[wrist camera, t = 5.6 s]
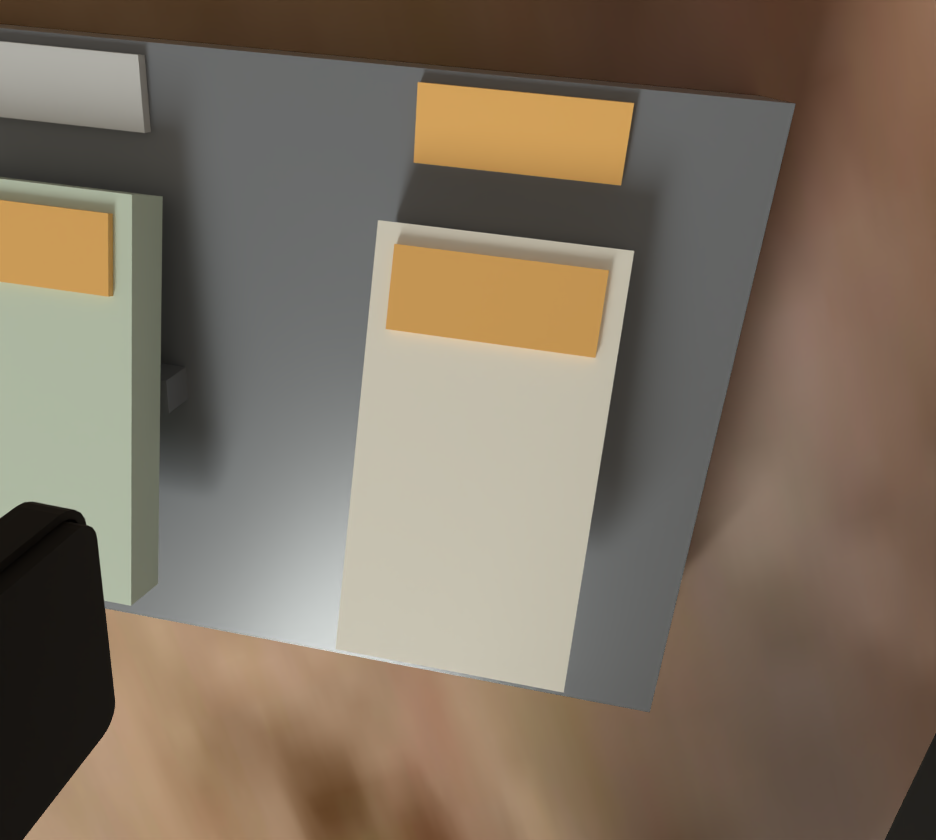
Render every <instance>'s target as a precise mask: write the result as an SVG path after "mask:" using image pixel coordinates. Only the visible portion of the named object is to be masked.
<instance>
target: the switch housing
mask: <svg viewBox="0 0 936 840" xmlns="http://www.w3.org/2000/svg"><path fill="white" fill-rule="evenodd" d="M794 108H795V103H790V102H786V101H781V100H777V99H772V98H768V97H763V96H757V95H746V94H736V93H725V92H715V91H704V90H693V89H683V88H672V87H662V86H651V85H641V84H630V83H619V82H609V81H598V80H588V79H577V78H567V77H556V76H545V75H535V74H524V73H514V72H503V71H492V70H482V69H471V68H461V67H450V66H440V65H429V64H418V63H408V62H397V61H387V60H376V59H366V58H355V57H344V56H334V55H323V54H313V53H302V52H291V51H281V50H270V49H260V48H249V47H239V46H228V45H217V44H207V43H196V42H186V41H175V40H165V39H154V38H143V37H133V36H122V35H112V34H101V33H90V32H80V31H69V30H59V29H48V28H38V27H27V26H16V25H6V24H0V177H5V178H14V179H22V180H30V181H39V182H47V183H55V184H63V185H72V186H80V187H88V188H97V189H105V190H113V191H121V192H130V193H138V194H146V195H155V196H163V205H162V289H161V373H160V457H159V541H158V584H157V585H156V586H155V587H153V588H152V589H151V590H150V591H148V592H147V593H146V594H145V595H144V596H142V597H141V598H140V599H139V600H138V601H136V602H135V603H134V604H133V605H131V606H129V605H124V604H119V603H114V602H108V601H104V604H105V608H106V609H112V610H117V611H122V612H127V613H132V614H138V615H143V616H148V617H153V618H159V619H164V620H169V621H174V622H180V623H185V624H190V625H195V626H201V627H206V628H211V629H216V630H221V631H227V632H232V633H237V634H242V635H248V636H253V637H258V638H263V639H269V640H274V641H279V642H284V643H290V644H295V645H300V646H305V647H310V648H316V649H321V650H326V651H331V652H337V653H342V654H347V655H352V656H358V657H363V658H368V659H373V660H379V661H384V662H389V663H394V664H399V665H405V666H410V667H415V668H420V669H426V670H431V671H436V672H441V673H447V674H452V675H457V676H462V677H468V678H473V679H478V680H483V681H488V682H494V683H499V684H504V685H509V686H515V687H520V688H525V689H530V690H536V691H541V692H546V693H551V694H556V695H562V696H567V697H572V698H577V699H583V700H588V701H593V702H598V703H604V704H609V705H614V706H619V707H625V708H630V709H635V710H640V711H645V712H650V709H651V705H652V701H653V696H654V692H655V688H656V684H657V680H658V676H659V671H660V667H661V663H662V659H663V655H664V650H665V646H666V642H667V638H668V634H669V630H670V625H671V621H672V617H673V613H674V609H675V605H676V600H677V596H678V592H679V588H680V584H681V580H682V575H683V571H684V567H685V563H686V559H687V555H688V550H689V546H690V542H691V538H692V534H693V529H694V525H695V521H696V517H697V513H698V509H699V504H700V500H701V496H702V492H703V488H704V484H705V479H706V475H707V471H708V467H709V463H710V459H711V454H712V450H713V446H714V442H715V438H716V434H717V429H718V425H719V421H720V417H721V413H722V408H723V404H724V400H725V396H726V392H727V388H728V383H729V379H730V375H731V371H732V367H733V363H734V358H735V354H736V350H737V346H738V342H739V338H740V333H741V329H742V325H743V321H744V317H745V312H746V308H747V304H748V300H749V296H750V292H751V287H752V283H753V279H754V275H755V271H756V267H757V262H758V258H759V254H760V250H761V246H762V242H763V237H764V233H765V229H766V225H767V221H768V217H769V212H770V208H771V204H772V200H773V196H774V191H775V187H776V183H777V179H778V175H779V171H780V166H781V162H782V158H783V154H784V150H785V146H786V141H787V137H788V133H789V129H790V125H791V121H792V116H793V112H794ZM378 220H381V221H390V222H398V223H406V224H415V225H423V226H431V227H440V228H448V229H456V230H465V231H473V232H481V233H489V234H498V235H506V236H514V237H523V238H531V239H539V240H548V241H556V242H564V243H573V244H581V245H589V246H598V247H606V248H614V249H622V250H631V251H634V256H633V262H632V269H631V275H630V281H629V287H628V294H627V300H626V306H625V312H624V319H623V325H622V331H621V337H620V344H619V350H618V356H617V362H616V369H615V375H614V381H613V387H612V394H611V400H610V406H609V412H608V419H607V425H606V431H605V437H604V444H603V450H602V456H601V462H600V469H599V475H598V481H597V487H596V494H595V500H594V506H593V512H592V519H591V525H590V531H589V537H588V544H587V550H586V556H585V562H584V569H583V575H582V581H581V587H580V594H579V600H578V606H577V612H576V619H575V625H574V631H573V637H572V644H571V650H570V656H569V662H568V669H567V675H566V681H565V687H564V693H563V692H557V691H552V690H547V689H542V688H536V687H531V686H526V685H521V684H515V683H510V682H505V681H500V680H494V679H489V678H484V677H479V676H473V675H468V674H463V673H458V672H452V671H447V670H442V669H437V668H431V667H426V666H421V665H416V664H410V663H405V662H400V661H395V660H389V659H384V658H379V657H374V656H368V655H363V654H358V653H353V652H348V651H342V650H337V649H336V639H337V629H338V619H339V609H340V599H341V588H342V578H343V568H344V558H345V548H346V538H347V528H348V518H349V508H350V498H351V488H352V477H353V467H354V457H355V447H356V437H357V427H358V417H359V407H360V397H361V387H362V376H363V366H364V356H365V346H366V336H367V326H368V316H369V306H370V296H371V286H372V275H373V265H374V255H375V245H376V235H377V225H378Z"/></svg>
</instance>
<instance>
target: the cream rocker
mask: <svg viewBox="0 0 936 840" xmlns="http://www.w3.org/2000/svg"><path fill="white" fill-rule="evenodd" d="M633 256H634V251H631V250H622V249H614V248H606V247H598V246H589V245H581V244H573V243H564V242H556V241H548V240H539V239H531V238H523V237H514V236H506V235H498V234H489V233H481V232H473V231H465V230H456V229H448V228H440V227H431V226H423V225H415V224H406V223H398V222H390V221H381V220H378V225H377V235H376V245H375V255H374V265H373V275H372V286H371V296H370V306H369V316H368V326H367V336H366V346H365V356H364V366H363V376H362V387H361V397H360V407H359V417H358V427H357V437H356V447H355V457H354V467H353V477H352V488H351V498H350V508H349V518H348V528H347V538H346V548H345V558H344V568H343V578H342V588H341V599H340V609H339V619H338V629H337V639H336V649H337V650H342V651H348V652H353V653H358V654H363V655H368V656H374V657H379V658H384V659H389V660H395V661H400V662H405V663H410V664H416V665H421V666H426V667H431V668H437V669H442V670H447V671H452V672H458V673H463V674H468V675H473V676H479V677H484V678H489V679H494V680H500V681H505V682H510V683H515V684H521V685H526V686H531V687H536V688H542V689H547V690H552V691H557V692H563V693H564V687H565V681H566V675H567V669H568V662H569V656H570V650H571V644H572V637H573V631H574V625H575V619H576V612H577V606H578V600H579V594H580V587H581V581H582V575H583V569H584V562H585V556H586V550H587V544H588V537H589V531H590V525H591V519H592V512H593V506H594V500H595V494H596V487H597V481H598V475H599V469H600V462H601V456H602V450H603V444H604V437H605V431H606V425H607V419H608V412H609V406H610V400H611V394H612V387H613V381H614V375H615V369H616V362H617V356H618V350H619V344H620V337H621V331H622V325H623V319H624V312H625V306H626V300H627V294H628V287H629V281H630V275H631V269H632V262H633Z"/></svg>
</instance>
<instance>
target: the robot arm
mask: <svg viewBox="0 0 936 840" xmlns="http://www.w3.org/2000/svg"><path fill="white" fill-rule="evenodd" d="M114 709H115V696H114V687H113V677H112V668H111V659H110V650H109V641H108V632H107V623H106V613H105V604H104V595H103V586H102V577H101V568H100V558H99V549H98V540H97V535H96V532H95V530H94V529H93V527H90V526H88V525H86V521H85V518H84V517H83V515H82V514H81V513H80V512H78V511H76V510H73V509H68V508H63V507H58V506H53V505H48V504H43V503H38V502H24V503H22V504H20V505H18V506H16V507H15V508H13V509H12V510H11V511H9V512H8V513H6V514H5V515H4V516H2V517H1V518H0V840H23V839H24V837H25V836H26V835H27V834H28V832H29V831H30V830H31V828H32V827H33V826H34V825H35V823H36V822H37V821H38V819H39V818H40V817H41V816H42V814H43V813H44V812H45V810H46V809H47V808H48V806H49V805H50V804H51V803H52V801H53V800H54V799H55V797H56V796H57V795H58V794H59V792H60V791H61V790H62V788H63V787H64V786H65V785H66V783H67V782H68V781H69V779H70V778H71V777H72V776H73V774H74V773H75V772H76V770H77V769H78V768H79V766H80V765H81V764H82V763H83V761H84V760H85V759H86V757H87V756H88V755H89V754H90V752H91V751H92V750H93V748H94V747H95V746H96V745H97V743H98V742H99V741H100V739H101V738H102V737H103V735H104V734H105V732H106V731H107V729H108V727H109V725H110V723H111V720H112V717H113V714H114ZM885 840H936V734H935V736H934V738H933V740H932V742H931V744H930V747H929V749H928V751H927V753H926V755H925V757H924V759H923V761H922V763H921V765H920V767H919V770H918V772H917V774H916V776H915V778H914V780H913V782H912V784H911V786H910V788H909V790H908V792H907V795H906V797H905V799H904V801H903V803H902V805H901V807H900V809H899V811H898V813H897V815H896V817H895V820H894V822H893V824H892V826H891V828H890V830H889V832H888V834H887V836H886V838H885Z"/></svg>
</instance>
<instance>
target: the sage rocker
mask: <svg viewBox="0 0 936 840" xmlns="http://www.w3.org/2000/svg"><path fill="white" fill-rule="evenodd" d="M162 205H163V196H155V195H146V194H138V193H130V192H121V191H113V190H105V189H97V188H88V187H80V186H72V185H63V184H55V183H47V182H39V181H30V180H22V179H14V178H5V177H0V518H1V517H2V516H4V515H5V514H6V513H8V512H9V511H11V510H12V509H13V508H15V507H16V506H18V505H20V504H22V503H24V502H38V503H43V504H48V505H53V506H58V507H63V508H68V509H73V510H76V511H78V512H80V513H81V514H82V515H83V517H84V518H85V521H86V525H88V526H90V527H93V529H94V530H95V532H96V535H97V540H98V549H99V558H100V568H101V577H102V586H103V595H104V601H108V602H114V603H119V604H124V605H129V606H131V605H133V604H134V603H135V602H136V601H138V600H139V599H140V598H141V597H142V596H144V595H145V594H146V593H147V592H148V591H150V590H151V589H152V588H153V587H155V586H156V585H157V584H158V541H159V457H160V373H161V289H162Z"/></svg>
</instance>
